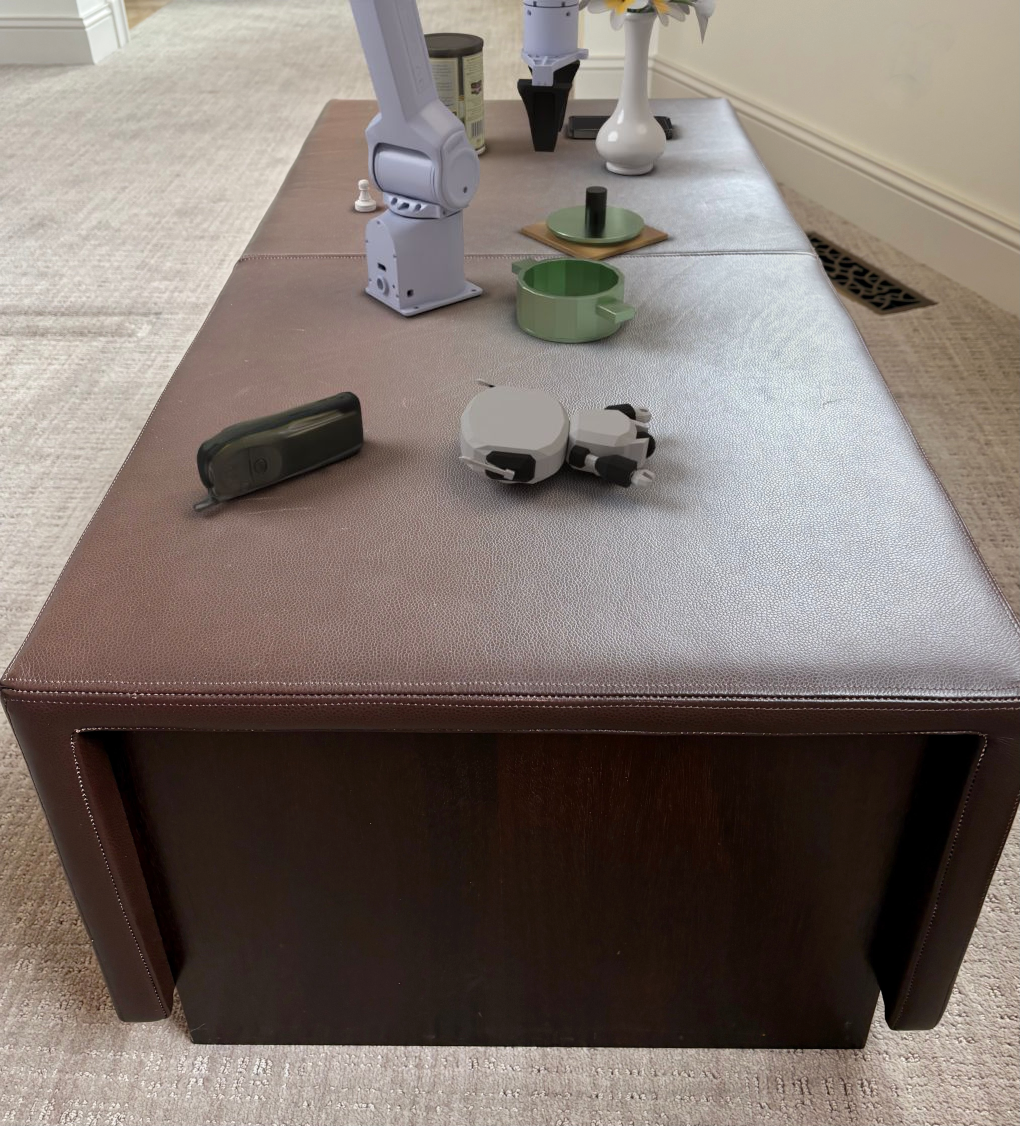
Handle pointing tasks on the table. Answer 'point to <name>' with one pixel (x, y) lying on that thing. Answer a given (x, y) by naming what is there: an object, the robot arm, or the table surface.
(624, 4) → the flower vase
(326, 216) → the table surface
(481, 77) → the coffee can
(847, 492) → the table surface
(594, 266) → the pot
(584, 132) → the phone
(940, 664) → the table surface
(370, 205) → the chess pawn
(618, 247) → the trivet
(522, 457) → the robot toy
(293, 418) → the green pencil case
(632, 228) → the pot lid
